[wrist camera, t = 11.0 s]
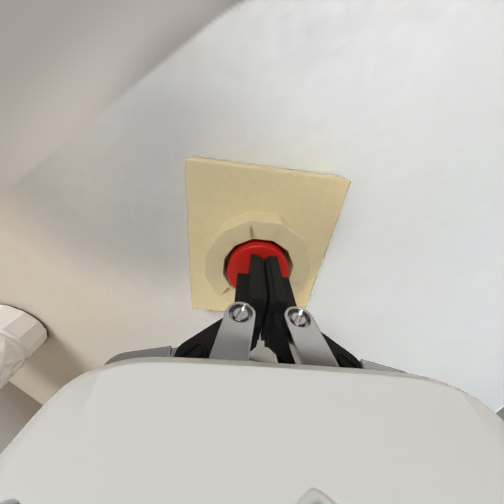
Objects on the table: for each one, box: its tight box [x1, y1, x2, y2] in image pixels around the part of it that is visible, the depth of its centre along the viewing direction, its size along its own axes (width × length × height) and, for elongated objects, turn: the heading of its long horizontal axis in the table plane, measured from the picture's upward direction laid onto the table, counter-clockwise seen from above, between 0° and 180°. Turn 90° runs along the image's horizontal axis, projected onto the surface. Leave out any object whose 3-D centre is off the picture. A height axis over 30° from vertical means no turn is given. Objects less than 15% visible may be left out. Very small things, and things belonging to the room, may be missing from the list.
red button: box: [227, 239, 289, 289], centre depth 13 cm, size 4×4×2 cm
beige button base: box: [185, 157, 351, 311], centre depth 14 cm, size 12×10×4 cm
